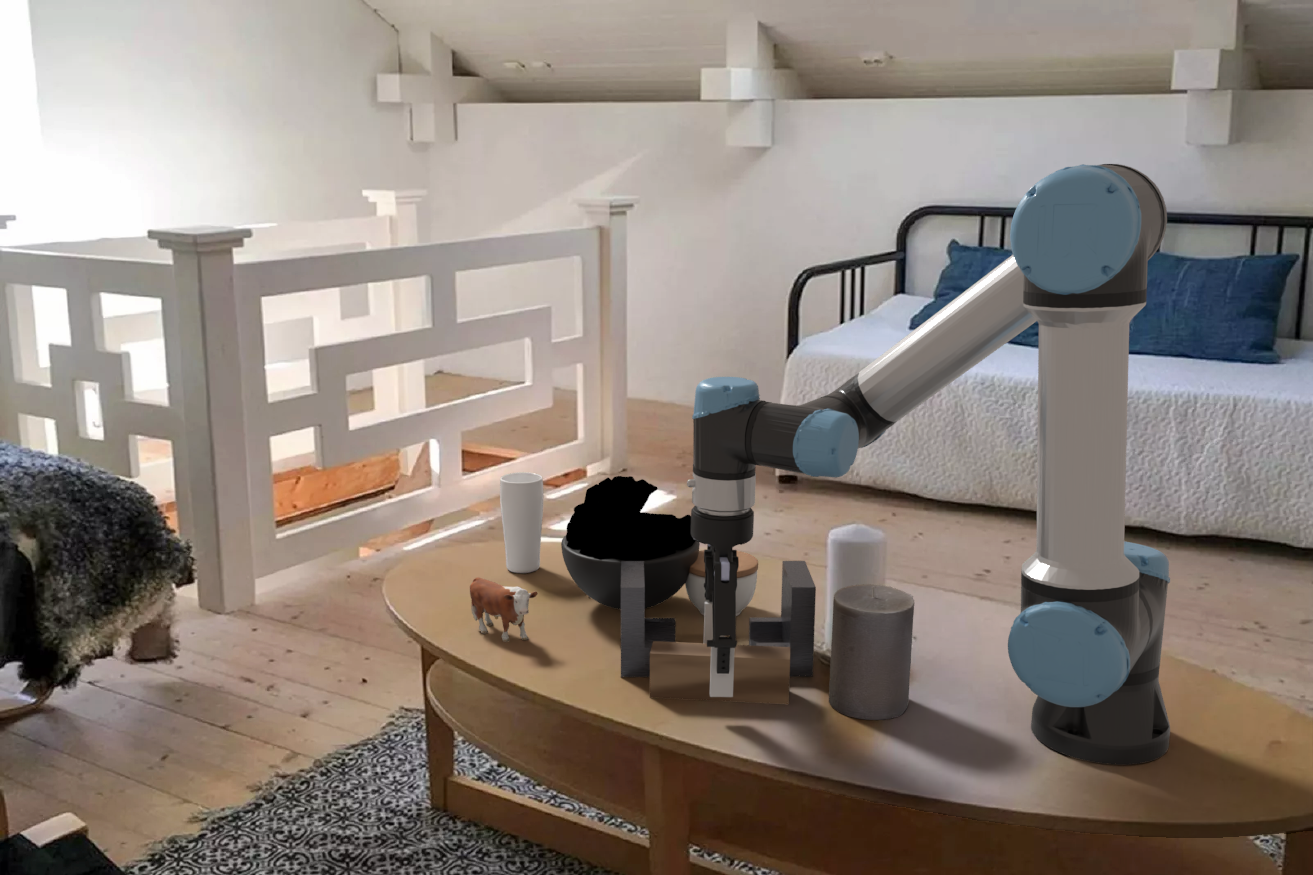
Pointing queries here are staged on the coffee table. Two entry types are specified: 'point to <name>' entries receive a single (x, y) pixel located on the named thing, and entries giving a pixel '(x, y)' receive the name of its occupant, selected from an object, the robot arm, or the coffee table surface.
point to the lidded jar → (744, 581)
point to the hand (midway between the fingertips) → (717, 672)
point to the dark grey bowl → (626, 543)
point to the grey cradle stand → (774, 631)
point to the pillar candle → (871, 651)
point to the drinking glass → (522, 520)
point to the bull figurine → (499, 605)
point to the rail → (688, 673)
